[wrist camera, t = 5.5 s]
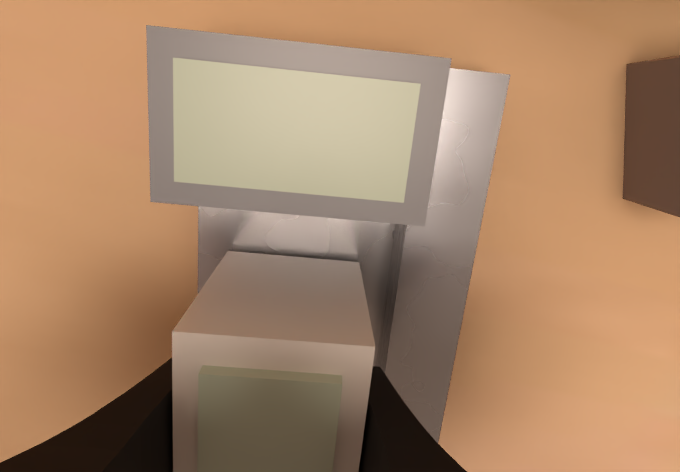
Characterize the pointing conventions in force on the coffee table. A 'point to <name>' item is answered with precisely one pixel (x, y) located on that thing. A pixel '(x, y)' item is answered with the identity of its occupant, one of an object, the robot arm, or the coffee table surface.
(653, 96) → the block
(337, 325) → the block
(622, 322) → the coffee table surface
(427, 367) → the rail
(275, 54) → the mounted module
